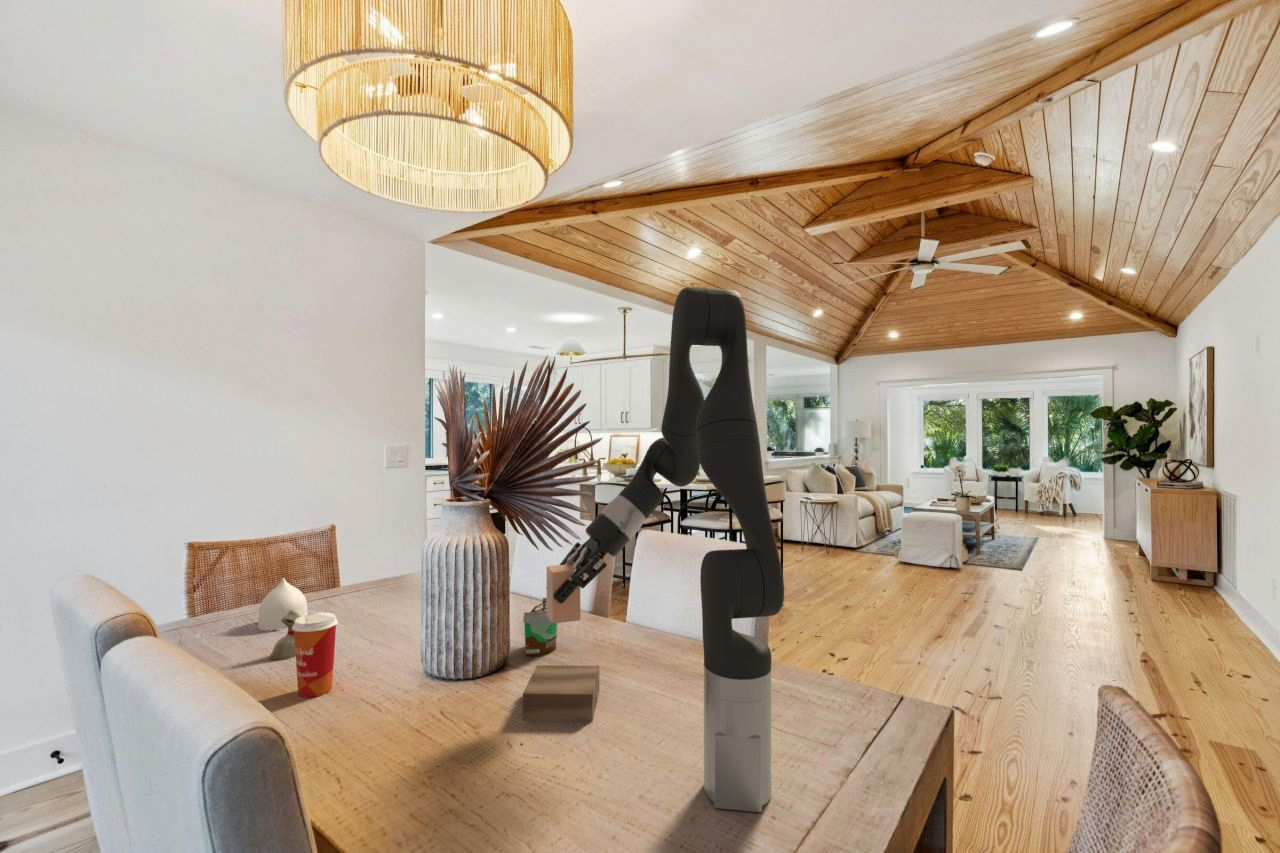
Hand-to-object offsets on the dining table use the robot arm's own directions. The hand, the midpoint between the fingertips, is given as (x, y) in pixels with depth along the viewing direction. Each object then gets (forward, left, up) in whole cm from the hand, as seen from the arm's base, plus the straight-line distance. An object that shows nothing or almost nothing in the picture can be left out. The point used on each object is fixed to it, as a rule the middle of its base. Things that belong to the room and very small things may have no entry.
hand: (553, 595), depth 107 cm
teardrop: (+33, +81, -20) cm, 90 cm away
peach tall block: (+1, -2, -4) cm, 5 cm away
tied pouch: (+15, +64, -20) cm, 69 cm away
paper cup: (-1, +46, -20) cm, 51 cm away
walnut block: (+1, -2, -20) cm, 20 cm away
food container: (+26, +9, -20) cm, 34 cm away
